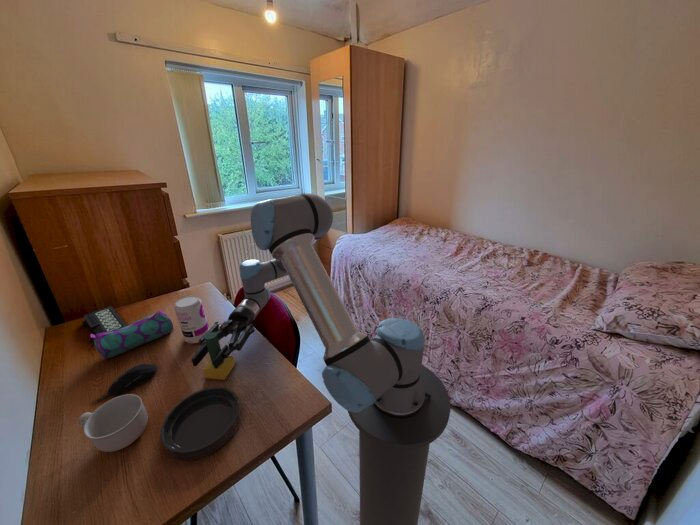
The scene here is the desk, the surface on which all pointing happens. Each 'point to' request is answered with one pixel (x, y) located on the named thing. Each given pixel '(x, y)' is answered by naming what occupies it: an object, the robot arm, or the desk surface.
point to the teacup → (115, 423)
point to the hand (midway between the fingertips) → (204, 363)
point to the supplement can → (191, 318)
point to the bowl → (201, 423)
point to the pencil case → (132, 335)
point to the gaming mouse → (131, 379)
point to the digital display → (103, 321)
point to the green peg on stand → (213, 352)
